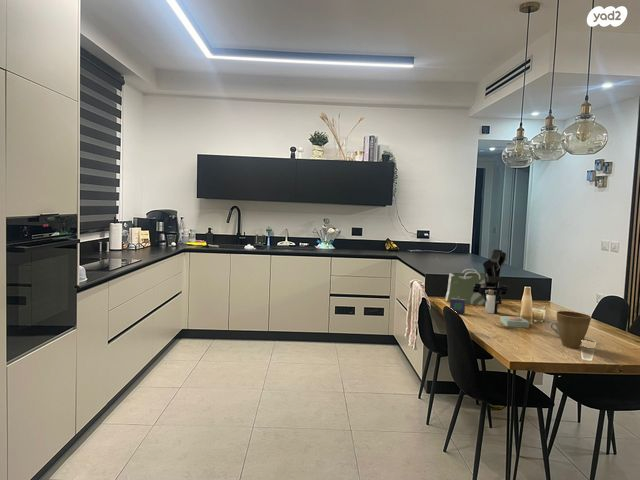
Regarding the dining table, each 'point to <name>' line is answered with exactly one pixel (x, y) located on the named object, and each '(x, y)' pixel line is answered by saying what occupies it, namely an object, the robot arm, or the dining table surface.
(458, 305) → the flask
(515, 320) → the stacking base
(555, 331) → the teacup
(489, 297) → the cosmetic bottle
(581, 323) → the plant pot
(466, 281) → the grocery bag
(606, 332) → the dining table surface
